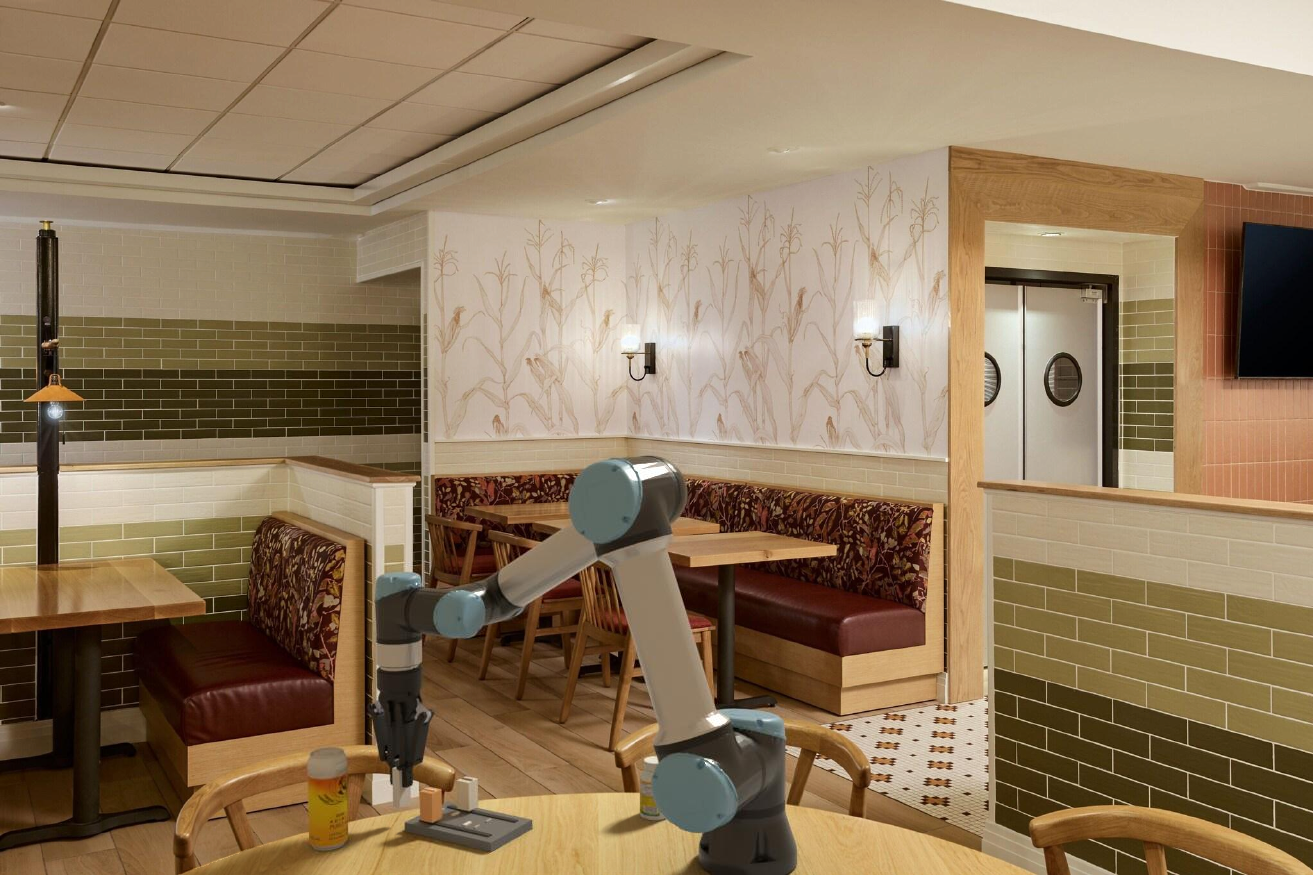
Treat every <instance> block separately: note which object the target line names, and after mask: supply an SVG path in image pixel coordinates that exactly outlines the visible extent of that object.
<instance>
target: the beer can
mask: <svg viewBox="0 0 1313 875" xmlns="http://www.w3.org/2000/svg"><path fill="white" fill-rule="evenodd" d="M306 767H307V800H308V801H307V808H308V810H307V811H308V816H307V817H308V843H309V845H311V846H312V848H313V849H314V850H316V851H320V852H321V851H324V852H325V851H333V850H336V849H339V848H341V847H344V845H345V844H346V842H347V841H348V840H349V804H348V803H349V802H348V800H349V799H348V756H347V755H346V752H345V749H344V748H342V747H336V746H328V747H321V748H317V749H313V750H312V751H310V752H309V756H308V759H307V766H306Z"/></svg>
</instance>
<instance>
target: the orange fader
mask: <svg viewBox="0 0 1313 875" xmlns="http://www.w3.org/2000/svg"><path fill="white" fill-rule="evenodd" d="M442 794H443V792H442V789H441V788H438V787H431V786H428V787H425V788H424V789H421V790H420V791H419V815H420V820H422V821H426V822H431V823H433V822H435V821H437V820H439V819H441V818H442V804H443V799H442V798H443V797H442V796H443V795H442Z"/></svg>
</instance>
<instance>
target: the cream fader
mask: <svg viewBox="0 0 1313 875" xmlns="http://www.w3.org/2000/svg"><path fill="white" fill-rule="evenodd" d="M478 780H479V779H478V778H476V777H470V776H468V775H467V776H462V777H461V778H459V779H457V780H456V803H457V809H461V810H466V811H470V810H472V809H474V808H479V781H478Z"/></svg>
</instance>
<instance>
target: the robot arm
mask: <svg viewBox="0 0 1313 875" xmlns="http://www.w3.org/2000/svg"><path fill="white" fill-rule="evenodd" d="M687 502H688V487H687V482H686V479H685V476H684V475H683V473H682V471H681V470H680V469H679V468H678V467H677V466H676V465H675V464H674V463H672V462H671V461H670V460H669V459H666V458H663V457H661V456H657V455H640V456H631V457H611V458H608V459H604V460H600V461H597V462H594V463H591V464H590V465H588V466H586V467H585V468H584V469H582V470H581V472H580V473H579V474H578V475H577V477H575V480H574V482H573V484H572V486H571V488H570V491H569V494H568V502H567V503H568V504H567V505H568V515H569V517H570V521H571V522H570V523H568V525H566V526H565V527H563V528H561V529H560V530H558V531H557V532H556V533H553V534H551V535H550V536H549V537H548V538H546V539H544V540H543V541H541V542H540V543H538V544H537V545H535V546H534V547H532V548H531V549H529V550H527V551H526V552H525V553H523V554H522V555H520V556H519V557H517V558H515V559H514V560H512V561H511V562H510V563H508V564H507V565H505V566H504V567H502V568H501V569H499V570H497V571H496V572H495V573H493V574H492V575H490V576H489V577H487V578H485V579H482V580H479V581H475V582H469V583H467V584H463V585H457V586H454V587H449V588H429V587H424V586H423V583H422V577H421V575H420V574H418V573H416V572H413V571H412V572H410V571H395V572H387V573H386V572H385V573H384V574H383V573H382V574H381V575H379V576H377V578H376V581H375V588H374V589H375V594H374V599H373V602H374V610H375V611H374V612H375V645H376V646H375V655H376V656H375V657H376V659H375V661H376V665H377V666H378V668H376V689H377V690H378V691H379V694H378V697H377V700H376V701H374V702H371V703H368V704H367V706H366V708H367V711H368V713H369V715H370V718H371V720H372V726H373V732H374V736H375V740H376V741H375V742H376V746H377V752H378V756H379V761H381V762H385V763H387V766H389V783H390V785H391V786H392V807H393V808H397V809H401V808H403V807H406V806H408V805H411V802H412V800H411V797H412V795H411V794H412V793H411V791H412V790H411V789H412V788H411V787H412V786H413V784H414V772H413V771H414V767H415V766H417V765H420V764H423V761H424V757H425V752H426V751H425V750H426V745H427V739H428V735H429V730H430V722H431V721H432V719H433V718H434V715H435V711H434V710H433V709H431V708H430V709H427V708H426V707H425V706H424V705H423V698H422V696H421V695H422V694H421V689H422V687H423V685H424V683H423V681H424V680H423V675H424V674H423V670H424V669H423V666H422V665H421V663H422V662H423V634H424V635H430V636H437V637H443V638H447V639H449V638H450V639H451V640H452V639H453V640H455V639H470V638H472V637H474V636H477V633H478V632H479V631H480V630H481V629H483V628H482V627H485V626H487V625H492V624H495V623H498V622H504V621H508V620H511V619H512V618H514V617H516V616H517V617H518V615H520V614H521V613H523V611H524V609H525V608H526V606H527V605H529V604H530V603H531V602H533V601H535V600H537V599H538V598H540V597H541V596H543V595H544V594H546V593H548V592H549V591H550V590H552V589H554V588H556V587H557V586H559V585H561V584H562V583H564V582H565V581H567V580H568V579H570V578H572V577H573V576H575V575H577V574H578V573H580V572H581V571H583V570H585V569H586V568H588V567H589V566H591V565H593V564H594V563H596V562H598V561H599V562H601V563H603V564H605V565H607V566H608V567H609V568H611V571H612V576H613V579H614V582H615V584H616V588H617V591H618V595H619V598H620V601H621V604H622V608H623V612H624V614H625V618H626V621H627V624H628V628H629V631H630V634H631V638H632V640H633V645H634V647H635V652H636V654H637V658H638V661H639V662H638V663H639V665H640V669H641V672H642V674H643V678H644V682H645V685H646V687H647V692H648V694H649V695H648V696H649V697H650V702H651V704H652V708H653V711H654V715H655V718H656V721H657V725H658V730H657V732H656V733H655V735H654V738H653V740H652V745H653V746H652V747H653V749H654V753H655V756H657V759H658V764H657V766H656V768H655V771H654V775H653V776H652V780H651V791H652V796H653V799H654V802H655V804H656V806H657V808H658V809H659V811H660V812H661V814H662V815H663V816H664V817H665V818H666V821H668V822H669V823H670V824H672V825H674V826H676V827H677V828H679V829H680V830H682V831H683V832H684V831H685V832H688V833H692V834H701V836H700V839H699V842H698V863H699V865H700V866H701V868H702V869H703V870H705V871H706V872H708V873H710V874H712V875H787V874H789V873H791V872H793V871H794V870H795V868H797V866H798V848H797V843H796V840H795V837H794V835H793V831H792V827H791V824H790V822H789V818H788V815H787V812H786V741H787V736H786V730H785V729H786V728H785V722H784V719H783V718H781V717H780V716H779V715H778V714H775V713H772V712H769V711H768V712H767V711H763V710H758V709H748V708H747V709H746V708H723V709H717V708H716V705H715V703H714V699H713V696H712V692H711V689H710V685H709V683H708V679H707V675H706V673H705V669H704V666H703V663H702V660H701V656H700V653H699V650H698V647H697V643H696V641H695V636H694V634H693V630H692V627H691V624H690V621H689V618H688V614H687V611H686V607H685V605H684V601H683V598H682V595H681V591H680V588H679V584H678V581H677V578H676V574H675V571H674V568H673V565H672V561H671V558H670V555H669V552H668V549H669V547H670V544H671V543H672V541H673V539H674V533H673V530H672V527H671V525H673V524H674V523H675V522H676V521H678V519H679V518H680V517H681V515H682V513H683V512H684V510H685V507H686V504H687Z"/></svg>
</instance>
